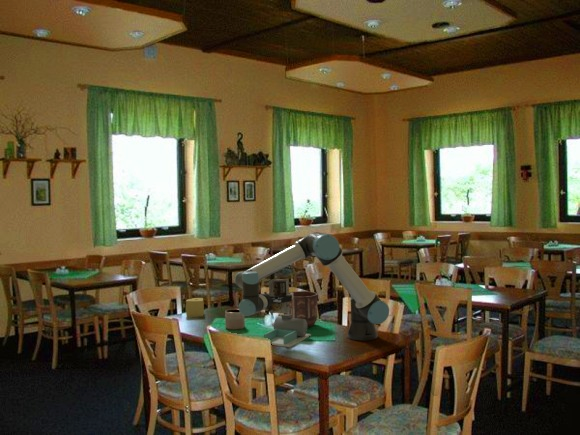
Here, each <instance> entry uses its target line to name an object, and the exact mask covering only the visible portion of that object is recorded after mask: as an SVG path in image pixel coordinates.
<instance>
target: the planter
mask: <svg viewBox="0 0 580 435" xmlns="http://www.w3.org/2000/svg"><path fill="white" fill-rule="evenodd" d="M224 313H225V314H224V319H225V323H224V326H225V327H224V328H225V329H227V330H230V331H231V330H232V331H236V330H242V329H244V328H246V321H245V320H246V318H245V317H246V316H245V315H243V314H241V313H240V311H239V308H228V309H226V310H224Z"/></svg>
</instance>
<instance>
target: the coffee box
mask: <svg viewBox="0 0 580 435" xmlns="http://www.w3.org/2000/svg"><path fill="white" fill-rule="evenodd" d="M289 280H290V279H288V278H287V279H285V278H282V279H280V278H273V279H270V280H269V281H268V293H269V296H277V297H278V296H286V295H287V294H289V293H290V281H289ZM274 298H275V297H274ZM289 311H290V310H289V302H284V303H281V304H278V303H274V304H272V305H271V306H270V307H269V313H270V314H287V313H288V312H289Z"/></svg>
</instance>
